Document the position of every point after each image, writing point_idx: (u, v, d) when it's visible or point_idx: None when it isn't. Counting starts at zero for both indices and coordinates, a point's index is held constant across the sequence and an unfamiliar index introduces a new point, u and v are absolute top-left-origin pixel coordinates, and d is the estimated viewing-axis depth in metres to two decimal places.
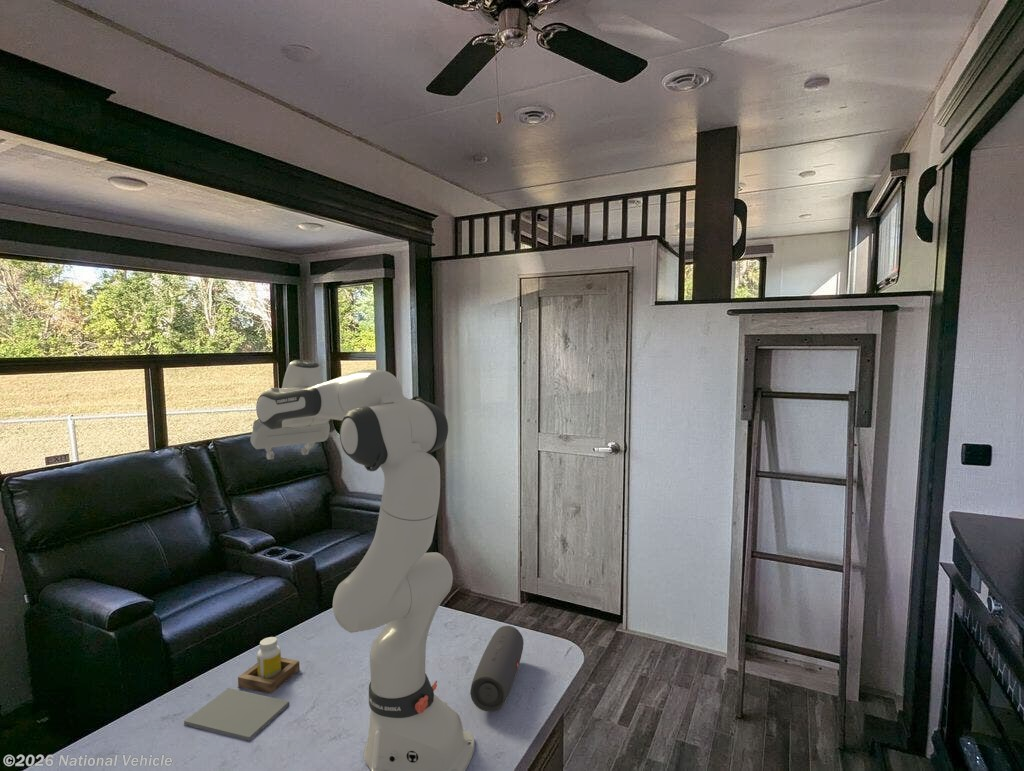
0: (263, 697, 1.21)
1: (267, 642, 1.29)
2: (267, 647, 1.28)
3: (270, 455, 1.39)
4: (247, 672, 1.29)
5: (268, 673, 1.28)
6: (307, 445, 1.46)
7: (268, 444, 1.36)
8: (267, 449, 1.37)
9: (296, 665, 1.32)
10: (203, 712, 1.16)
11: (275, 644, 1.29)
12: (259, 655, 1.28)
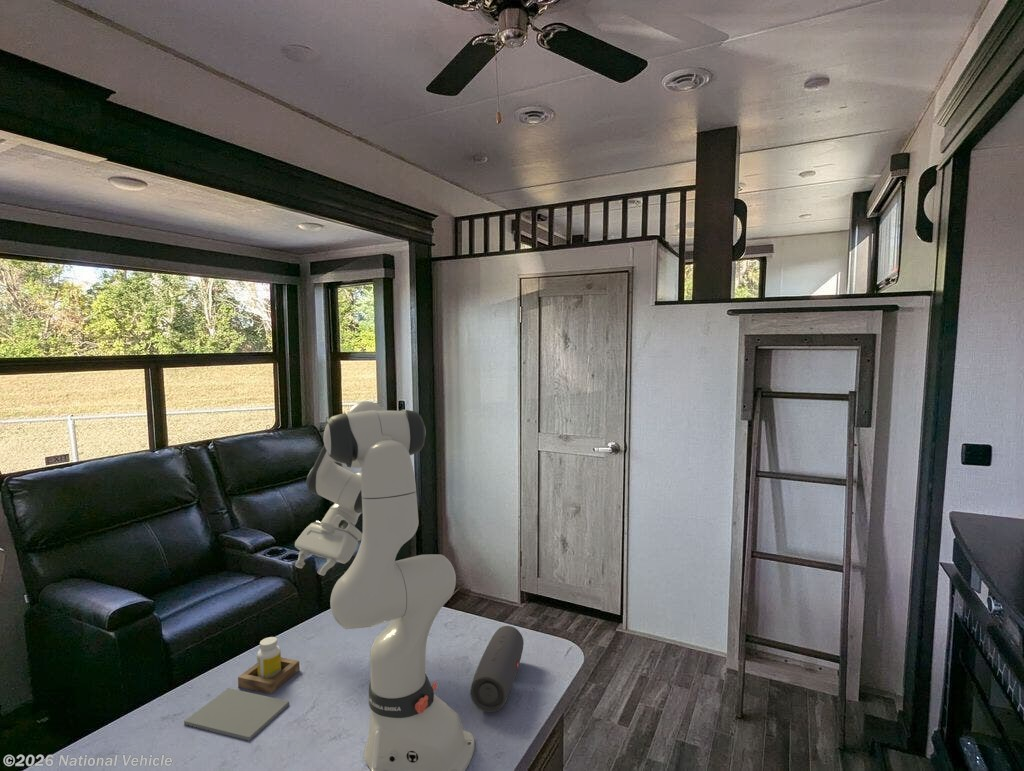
0: (263, 697, 1.21)
1: (267, 642, 1.29)
2: (267, 647, 1.28)
3: (298, 560, 1.43)
4: (247, 672, 1.29)
5: (268, 673, 1.28)
6: None
7: (302, 543, 1.45)
8: (300, 551, 1.44)
9: (296, 665, 1.32)
10: (203, 712, 1.16)
11: (275, 644, 1.29)
12: (259, 655, 1.28)
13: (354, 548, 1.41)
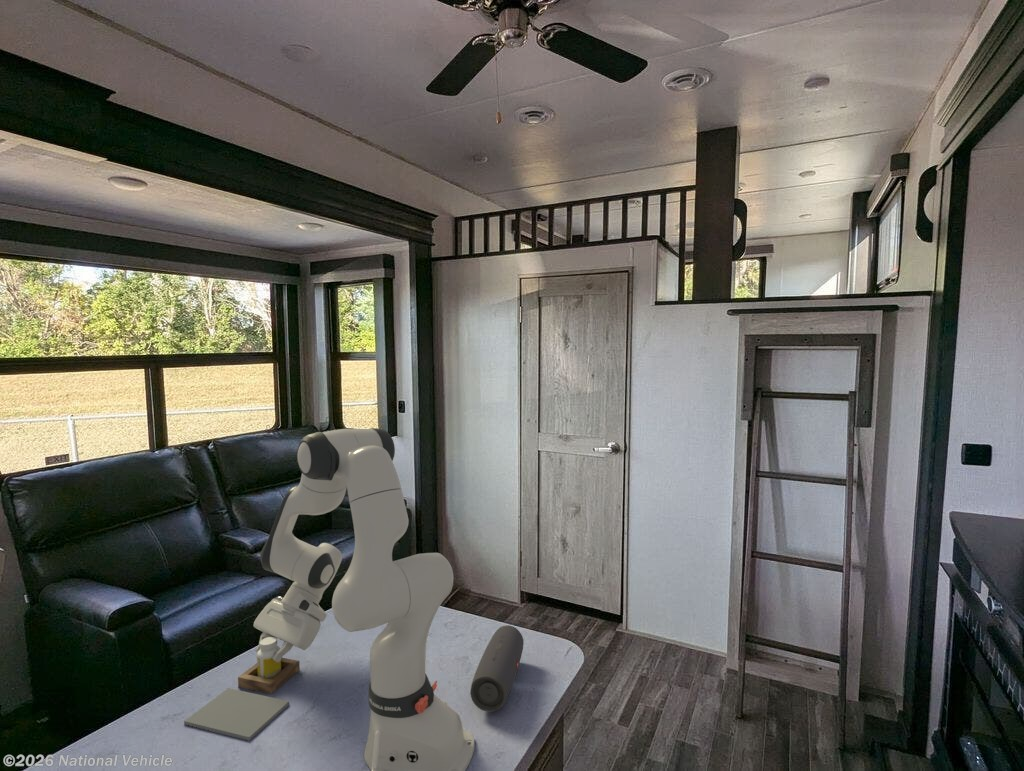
0: (263, 697, 1.21)
1: (267, 642, 1.29)
2: (267, 647, 1.28)
3: (259, 645, 1.32)
4: (247, 672, 1.29)
5: (268, 673, 1.28)
6: None
7: (261, 624, 1.35)
8: (262, 634, 1.33)
9: (296, 665, 1.32)
10: (203, 712, 1.16)
11: (275, 644, 1.29)
12: (259, 655, 1.28)
13: (316, 632, 1.30)
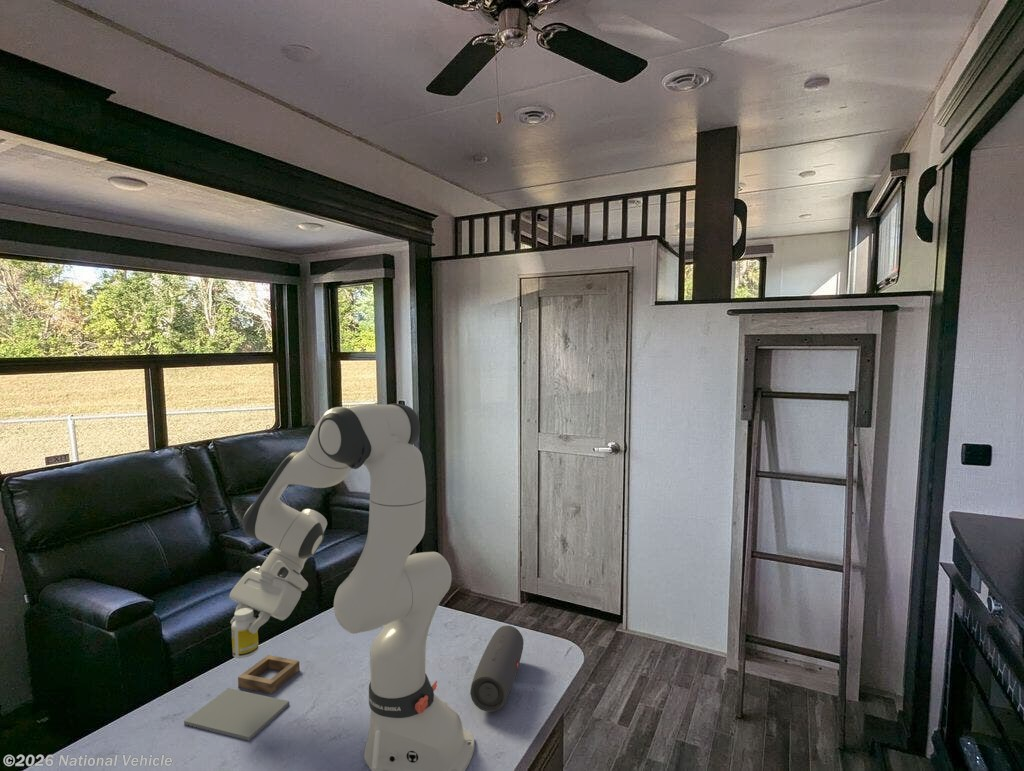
0: (263, 697, 1.21)
1: (242, 613, 1.18)
2: (242, 618, 1.17)
3: None
4: (247, 672, 1.29)
5: (244, 646, 1.17)
6: None
7: (237, 594, 1.24)
8: (238, 605, 1.23)
9: (296, 665, 1.32)
10: (203, 712, 1.16)
11: (251, 615, 1.19)
12: (233, 626, 1.17)
13: (295, 601, 1.19)
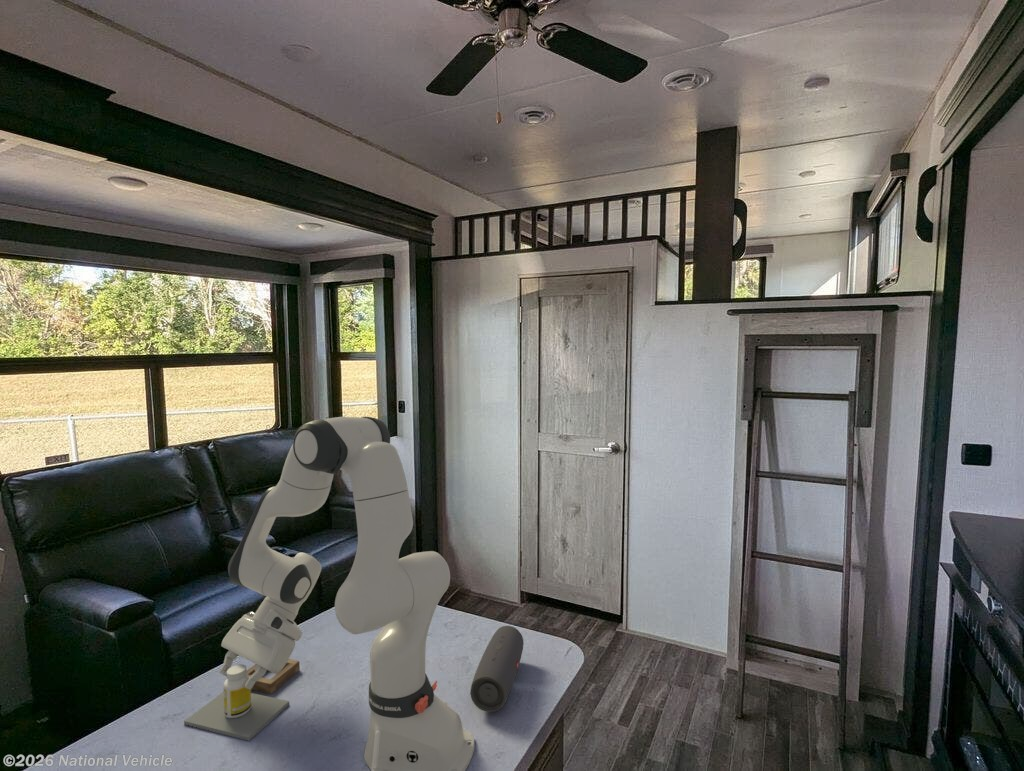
0: (263, 697, 1.21)
1: (234, 671, 1.15)
2: (235, 677, 1.15)
3: (223, 665, 1.19)
4: (247, 672, 1.29)
5: (236, 706, 1.14)
6: None
7: (230, 643, 1.22)
8: (227, 653, 1.21)
9: (296, 665, 1.32)
10: (203, 712, 1.16)
11: (244, 673, 1.16)
12: (226, 686, 1.14)
13: (289, 653, 1.17)
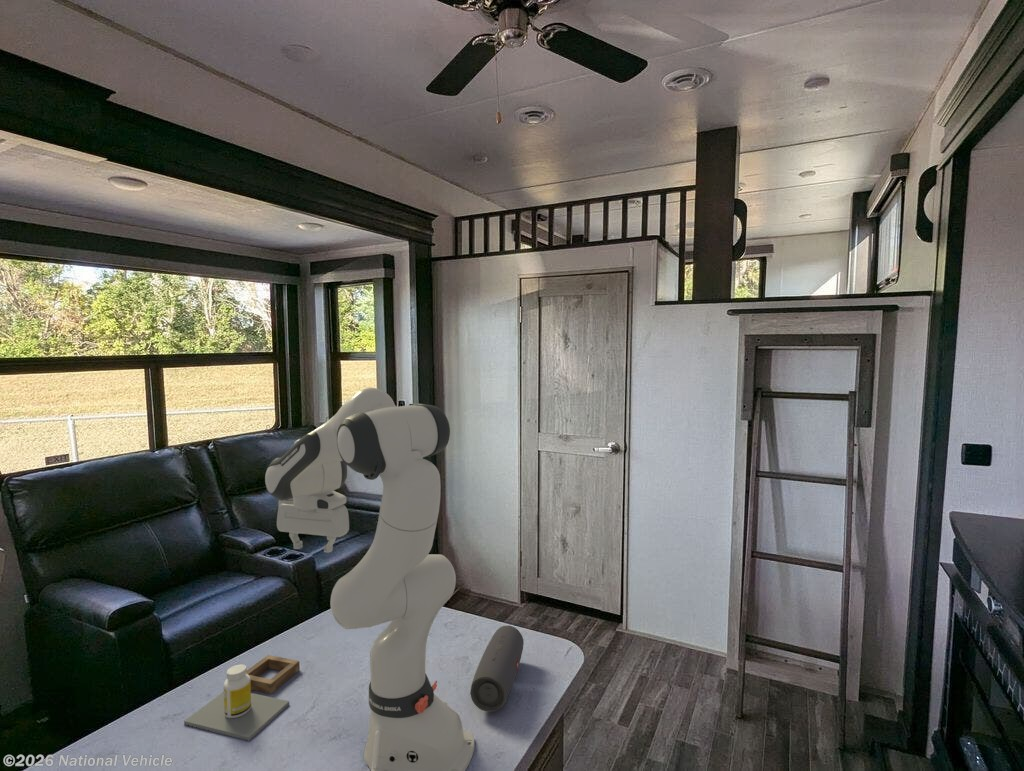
0: (263, 697, 1.21)
1: (234, 671, 1.15)
2: (235, 677, 1.15)
3: (294, 543, 1.35)
4: (247, 672, 1.29)
5: (236, 706, 1.14)
6: None
7: (287, 527, 1.34)
8: (290, 534, 1.35)
9: (296, 665, 1.32)
10: (203, 712, 1.16)
11: (244, 673, 1.16)
12: (226, 686, 1.14)
13: (347, 516, 1.32)
